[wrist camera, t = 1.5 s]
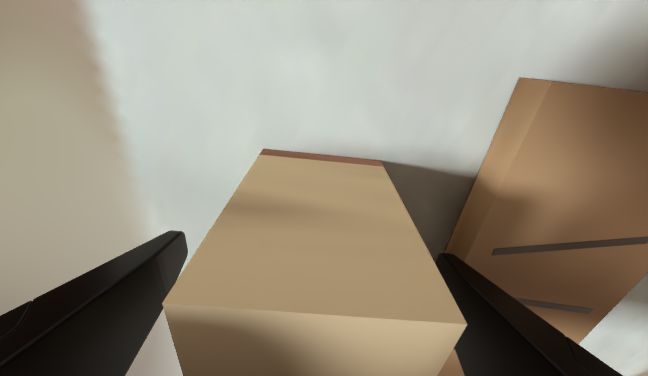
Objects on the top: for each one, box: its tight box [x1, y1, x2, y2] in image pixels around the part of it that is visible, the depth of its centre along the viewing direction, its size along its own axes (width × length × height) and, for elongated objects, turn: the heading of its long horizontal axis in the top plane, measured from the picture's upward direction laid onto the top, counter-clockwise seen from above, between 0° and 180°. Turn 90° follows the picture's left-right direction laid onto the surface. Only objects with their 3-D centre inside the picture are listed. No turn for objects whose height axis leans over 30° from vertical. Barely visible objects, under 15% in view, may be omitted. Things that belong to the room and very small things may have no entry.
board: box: [437, 77, 648, 376], centre depth 11 cm, size 16×7×1 cm, turn 174°
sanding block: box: [162, 149, 467, 376], centre depth 7 cm, size 6×4×6 cm, turn 174°
